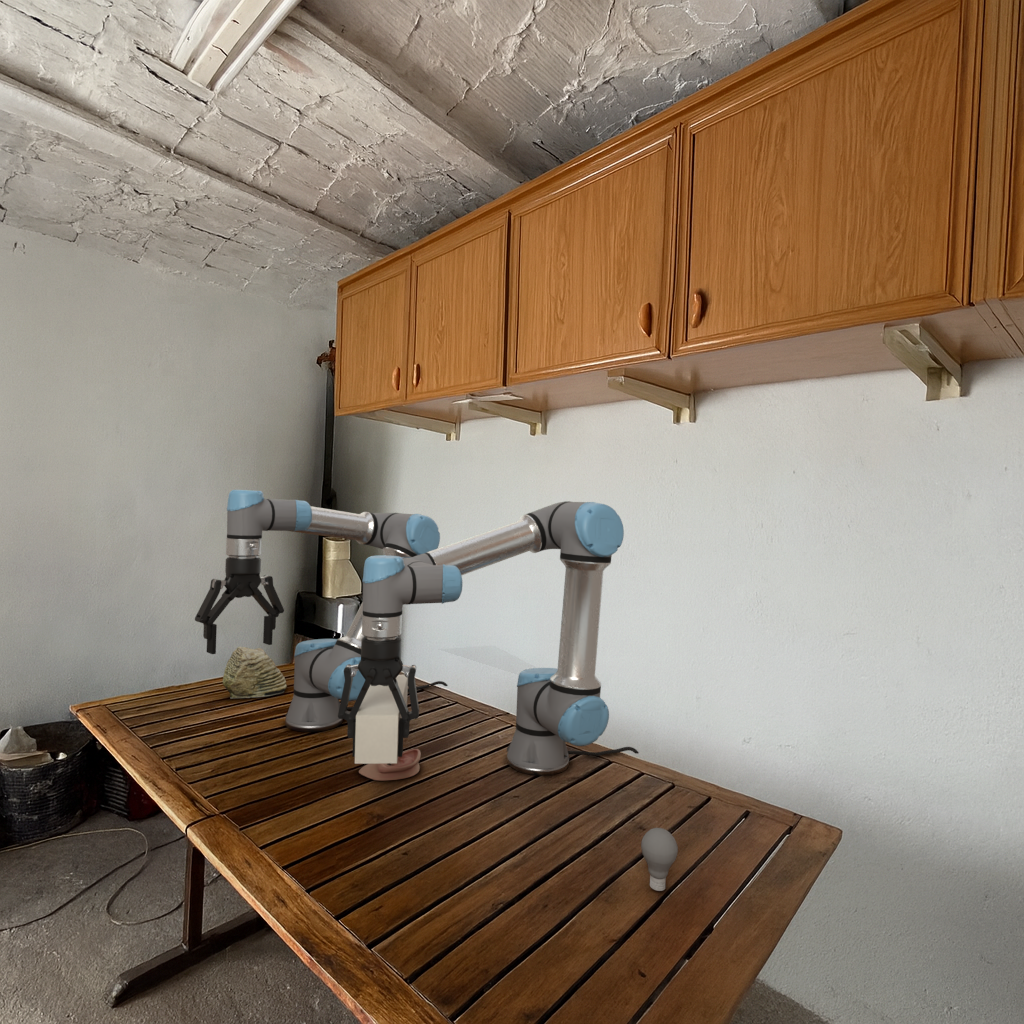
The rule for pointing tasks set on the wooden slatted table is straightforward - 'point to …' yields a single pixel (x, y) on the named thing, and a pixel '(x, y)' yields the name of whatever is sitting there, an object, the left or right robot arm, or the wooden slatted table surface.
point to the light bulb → (659, 855)
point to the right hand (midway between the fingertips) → (378, 753)
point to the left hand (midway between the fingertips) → (240, 648)
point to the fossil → (252, 674)
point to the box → (379, 725)
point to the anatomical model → (394, 767)
